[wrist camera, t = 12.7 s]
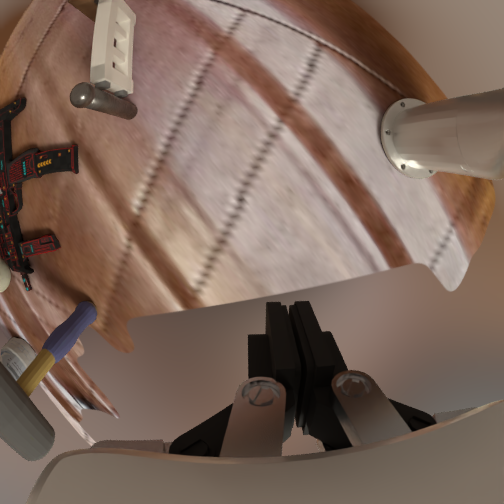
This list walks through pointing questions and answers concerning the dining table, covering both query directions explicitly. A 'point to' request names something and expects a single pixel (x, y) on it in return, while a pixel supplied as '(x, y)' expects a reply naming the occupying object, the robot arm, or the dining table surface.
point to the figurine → (4, 275)
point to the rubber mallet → (17, 392)
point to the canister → (16, 356)
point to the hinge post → (101, 101)
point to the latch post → (86, 7)
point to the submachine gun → (9, 177)
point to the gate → (113, 48)
